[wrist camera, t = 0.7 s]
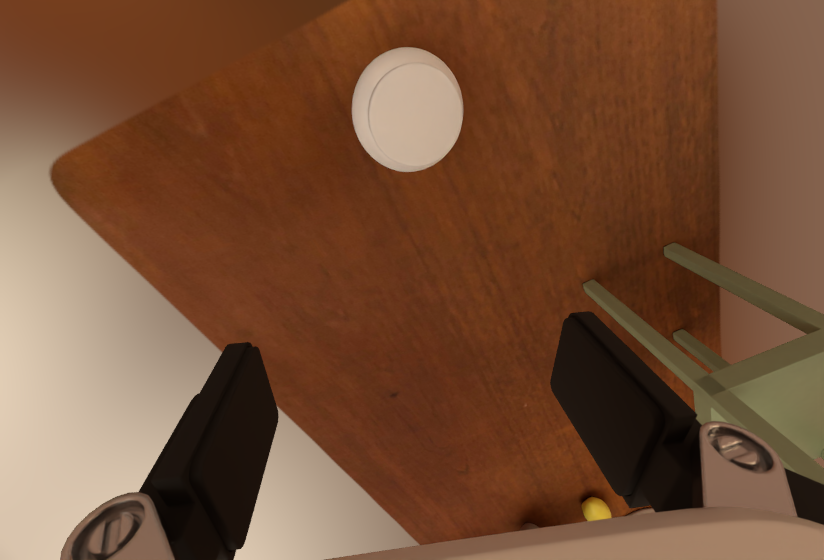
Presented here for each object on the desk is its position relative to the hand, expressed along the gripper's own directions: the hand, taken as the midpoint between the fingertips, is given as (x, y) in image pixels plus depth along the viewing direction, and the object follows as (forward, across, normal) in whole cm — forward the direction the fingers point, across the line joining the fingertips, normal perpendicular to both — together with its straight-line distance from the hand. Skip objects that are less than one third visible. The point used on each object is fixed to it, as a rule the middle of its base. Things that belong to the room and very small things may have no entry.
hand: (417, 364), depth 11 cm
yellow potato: (+22, -31, +54) cm, 67 cm away
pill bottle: (+22, -1, -6) cm, 23 cm away
